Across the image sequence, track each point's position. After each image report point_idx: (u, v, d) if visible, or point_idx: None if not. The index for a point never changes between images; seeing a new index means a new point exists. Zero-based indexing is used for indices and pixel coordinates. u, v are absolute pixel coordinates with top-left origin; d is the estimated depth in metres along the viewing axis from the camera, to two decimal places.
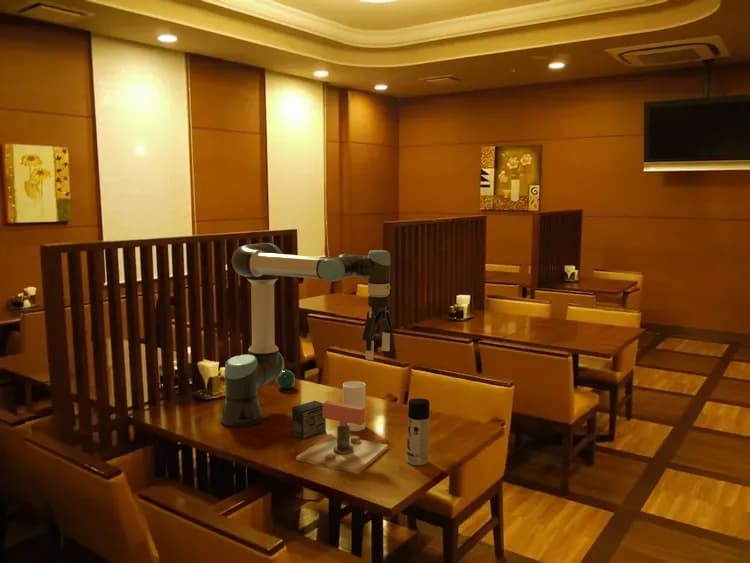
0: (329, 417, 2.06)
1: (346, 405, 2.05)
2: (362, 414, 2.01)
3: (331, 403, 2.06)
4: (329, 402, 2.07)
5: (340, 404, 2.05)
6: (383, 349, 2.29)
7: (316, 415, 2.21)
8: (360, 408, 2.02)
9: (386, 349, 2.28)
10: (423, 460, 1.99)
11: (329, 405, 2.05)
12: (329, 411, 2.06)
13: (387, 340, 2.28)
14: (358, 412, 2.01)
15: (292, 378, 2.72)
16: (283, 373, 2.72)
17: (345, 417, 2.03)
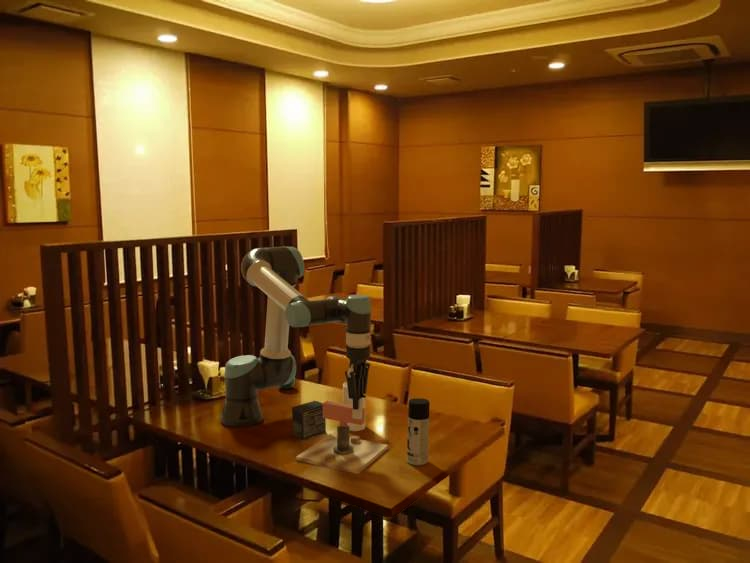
0: (329, 417, 2.06)
1: (346, 405, 2.05)
2: (362, 414, 2.01)
3: (331, 403, 2.06)
4: (329, 402, 2.07)
5: (340, 404, 2.05)
6: None
7: (316, 415, 2.21)
8: None
9: None
10: (423, 460, 1.99)
11: (329, 405, 2.05)
12: (329, 411, 2.06)
13: None
14: None
15: None
16: None
17: (345, 417, 2.03)
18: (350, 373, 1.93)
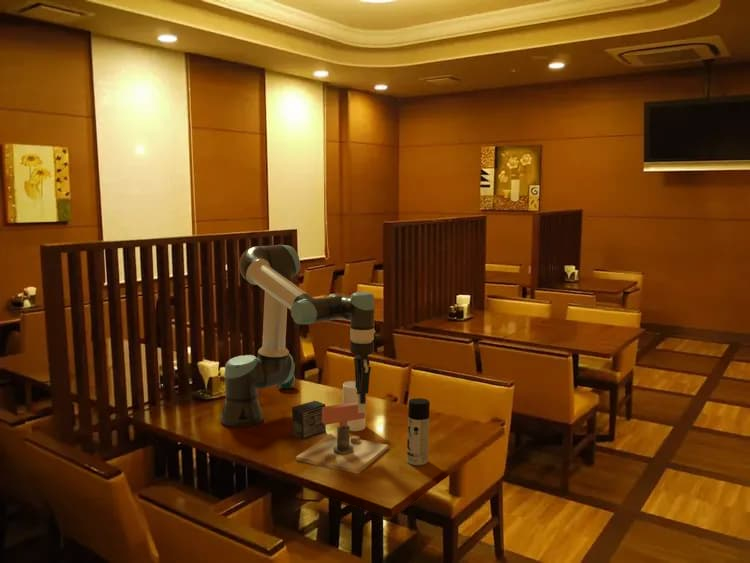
0: (332, 421, 2.02)
1: (345, 404, 2.05)
2: None
3: (331, 407, 2.02)
4: (327, 407, 2.02)
5: (339, 405, 2.04)
6: None
7: (316, 415, 2.21)
8: None
9: None
10: (423, 460, 1.99)
11: (332, 409, 2.02)
12: (332, 415, 2.02)
13: None
14: None
15: (292, 378, 2.72)
16: None
17: (349, 415, 2.05)
18: (368, 368, 1.98)
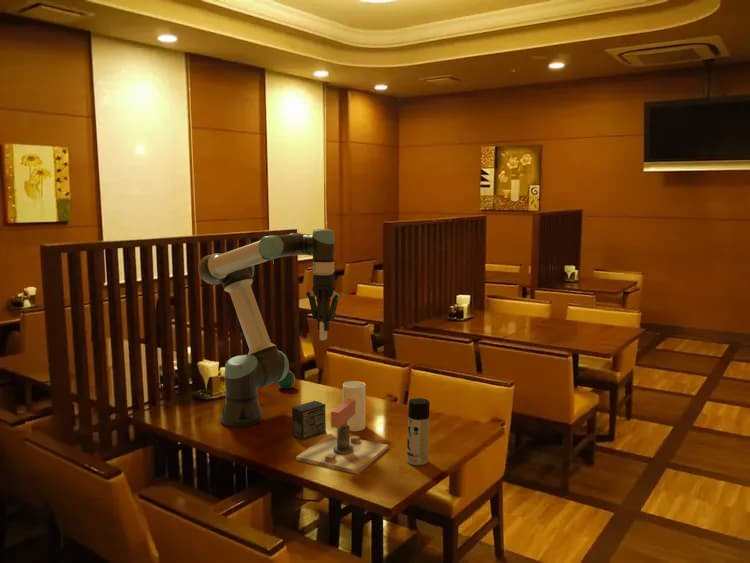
0: (341, 423, 2.01)
1: (344, 404, 2.06)
2: None
3: (339, 409, 2.01)
4: (336, 410, 2.00)
5: (341, 406, 2.04)
6: None
7: (316, 415, 2.21)
8: (351, 399, 2.10)
9: None
10: (423, 460, 1.99)
11: (341, 411, 2.00)
12: (342, 416, 2.00)
13: None
14: (354, 403, 2.10)
15: (292, 378, 2.72)
16: None
17: (349, 414, 2.06)
18: (339, 295, 2.22)
